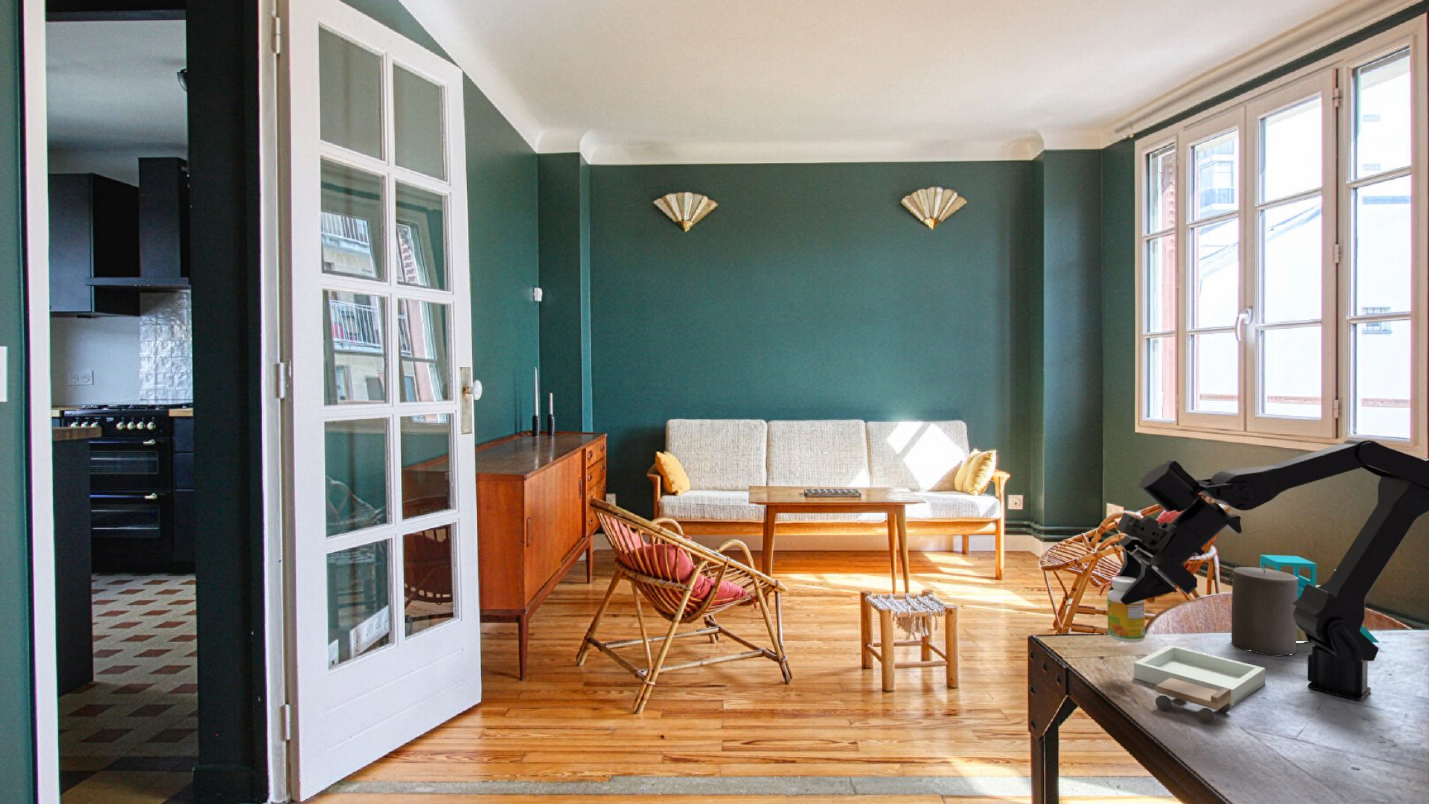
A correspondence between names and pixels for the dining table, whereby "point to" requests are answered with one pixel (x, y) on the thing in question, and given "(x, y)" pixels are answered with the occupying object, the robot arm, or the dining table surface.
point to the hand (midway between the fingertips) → (1116, 597)
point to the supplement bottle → (1125, 613)
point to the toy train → (1301, 582)
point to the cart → (1194, 698)
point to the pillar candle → (1264, 610)
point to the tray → (1200, 671)
